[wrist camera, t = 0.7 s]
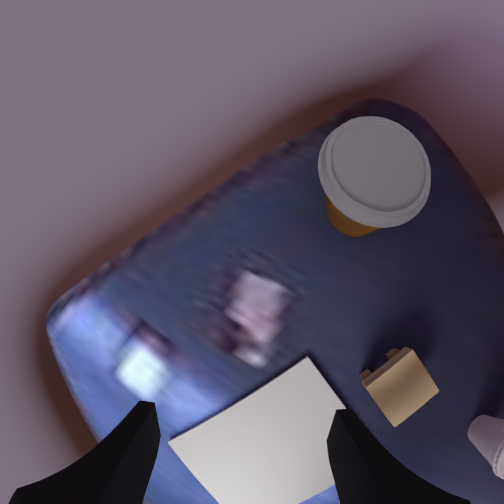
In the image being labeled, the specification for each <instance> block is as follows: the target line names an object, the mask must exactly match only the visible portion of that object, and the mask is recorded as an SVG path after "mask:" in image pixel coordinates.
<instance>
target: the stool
mask: <svg viewBox="0 0 504 504" xmlns="http://www.w3.org/2000/svg"><path fill="white" fill-rule="evenodd" d="M386 355H387V357H388V358H389V361H387V362H386V363H385V364H384V365H382V366H381V367H380V368H379V369H377V370H376V371H375V372H373V373H372V372H371V371H369V370H368V369H366V370H365V371H363V372H362V373H361V374H359V376H360V377H361V379H362V380H363V381H362V384H363V385H364V387H365V388H366V389H367V391H368V392H369V393H370V395H371V396H372V398H373V399H374V400H375V402H376V403H377V405H378V406H379V407H380V409H381V410H382V412H383V413H384V414H385V416H386V417H387V419H388V420H389V421H390V422H391V424H392V425H393V426H394V427H396V426H398V425H399V424H400V423H401V422H403V421H404V420H405V419H407V418H408V417H409V416H410V415H412V414H413V413H414V412H415V411H416V410H418V409H419V408H420V407H421V406H423V405H424V404H425V403H426V402H427V401H428V400H430V399H431V398H432V397H433V396H434V395H435V394H436V393H438V392H439V390H438V388H437V386H436V385H435V383H434V382H433V380H432V378H431V377H430V375H429V374H428V372H427V370H426V369H425V367H424V366H423V364H422V363H421V361H420V360H419V358H418V357H417V355H416V353H415V352H414V350H413V349H410V348H407V347H404V348H403V349H402V350H398V349H396V348H392V349H391V350H390V351H389V352H388V353H386Z"/></svg>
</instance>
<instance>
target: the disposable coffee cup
mask: <svg viewBox="0 0 504 504" xmlns="http://www.w3.org/2000/svg"><path fill="white" fill-rule="evenodd" d="M318 172H319V178H320V182H321V184H322V187H323V189H324V192H325V198H326V210H327V215H328V218H329V220H330V222H331V223H332V225H333V226H334V227H335V228H336V229H337V230H338V231H340V232H341V233H343V234H345V235H348V236H354V237H359V236H364V235H366V234H368V233H371V232H373V231H376V230H378V229H380V228H388V227H393V226H398V225H401V224H403V223H405V222H407V221H409V220H411V219H412V218H413V217H415V216H416V215H417V214H418V213H419V212H420V210H421V209H422V208H423V206H424V205H425V203H426V201H427V198H428V195H429V191H430V182H431V180H430V179H431V169H430V165H429V160H428V157H427V155H426V153H425V151H424V149H423V147H422V145H421V143H420V142H419V141H418V140H417V139H416V138H415V136H414V135H413V134H412V133H411V132H410V131H408V130H407V129H406V128H404V127H403V126H401V125H400V124H398V123H396V122H394V121H391V120H389V119H386V118H382V117H376V116H364V117H358V118H355V119H351V120H349V121H347V122H345V123H344V124H342V125H341V126H339V127H338V128H336V129H335V130H334V131H332V132H331V133H330V135H329V136H328V137H327V138H326V140H325V141H324V143H323V144H322V147H321V150H320V153H319V160H318Z"/></svg>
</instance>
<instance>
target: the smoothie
mask: <svg viewBox="0 0 504 504" xmlns="http://www.w3.org/2000/svg"><path fill="white" fill-rule="evenodd" d="M467 435H468V438H469V440H470V441H471V442H472V443H473V444H474V445H475V447H476V448H477V449H478V450H479V451H480V452H481V454H482V455H483V456H484V457H485V458H486V459H487V461H488V462H489V463H490V464H491V465H492V466H493V472H494V473H495V475H497V476H499V477H500V478H502V479H504V420H503V419H499V418H495V417H491V416H487V415H480V416H478V417H477V418H475V419H474V420H473V421H472V423H471V424H470V426H469V428H468V433H467Z"/></svg>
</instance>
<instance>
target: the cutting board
mask: <svg viewBox="0 0 504 504" xmlns="http://www.w3.org/2000/svg"><path fill="white" fill-rule="evenodd" d="M336 409H347V408H346V407H345V406H344V404H343V403H342V402H341V400H340V399H339V398H338V396H337V395H336V394H335V392H334V391H333V390H332V388H331V387H330V386H329V384H328V383H327V381H326V380H325V379H324V377H323V376H322V375H321V373H320V372H319V371H318V369H317V368H316V367H315V365H314V364H313V362H312V361H311V360H310V358H309V357H308V356H306V357H305V358H303V359H302V360H300V361H299V362H298V363H296V364H295V365H293V366H292V367H290V368H289V369H287V370H286V371H284V372H283V373H281V374H280V375H279V376H277V377H276V378H274V379H272V380H271V381H269V382H268V383H266V384H265V385H263V386H262V387H260V388H259V389H257V390H255V391H254V392H252V393H251V394H249V395H248V396H246V397H244V398H243V399H241V400H239V401H238V402H236V403H235V404H233V405H231V406H230V407H228V408H226V409H224V410H223V411H221V412H219V413H218V414H216V415H214V416H213V417H211V418H209V419H207V420H206V421H204V422H202V423H200V424H198V425H197V426H195V427H193V428H191V429H189V430H188V431H186V432H184V433H182V434H180V435H178V436H176V437H174V438H172V439H171V440H169V441H168V444H169V445H170V446H171V448H172V449H173V450H174V451H175V453H176V454H177V455H178V456H179V458H180V459H181V460H182V461H183V463H184V464H185V465H186V466H187V467H188V469H189V470H190V471H191V472H192V473H193V475H194V476H195V477H196V478H197V479H198V480H199V482H200V483H201V484H202V485H203V486H204V487H205V488H206V489H207V491H208V492H209V493H210V494H211V495H212V496H213V497H214V498H215V499H216V500H217V501H218V502H219V504H299V503H301V502H303V501H305V500H307V499H309V498H311V497H313V496H315V495H317V494H319V493H320V492H322V491H324V490H326V489H328V488H329V487H331V486H333V485H335V482H334V478H333V474H332V471H331V467H330V463H329V457H328V450H327V442H326V441H327V438H328V435H329V431H330V428H331V425H332V422H333V418H334V415H335V412H336Z"/></svg>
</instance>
